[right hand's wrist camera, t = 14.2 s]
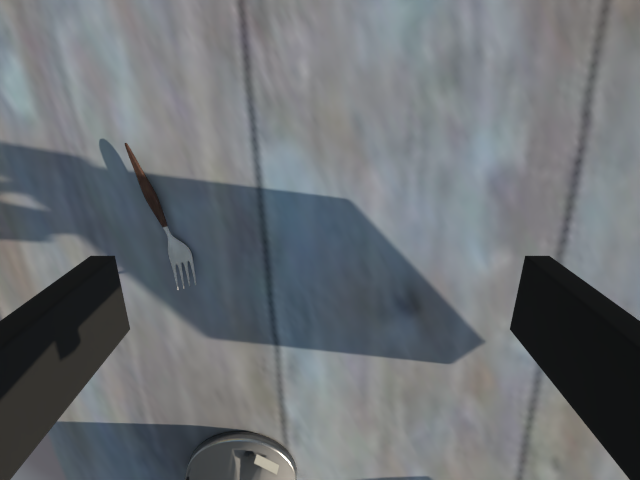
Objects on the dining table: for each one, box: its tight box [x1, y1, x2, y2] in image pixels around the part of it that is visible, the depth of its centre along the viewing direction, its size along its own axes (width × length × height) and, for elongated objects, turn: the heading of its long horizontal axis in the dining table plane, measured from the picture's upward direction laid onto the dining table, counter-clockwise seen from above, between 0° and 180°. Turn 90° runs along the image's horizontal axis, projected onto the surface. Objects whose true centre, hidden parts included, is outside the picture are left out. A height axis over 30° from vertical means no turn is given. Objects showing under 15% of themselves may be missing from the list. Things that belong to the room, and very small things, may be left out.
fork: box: [125, 143, 196, 290], centre depth 40 cm, size 3×16×2 cm, turn 16°
